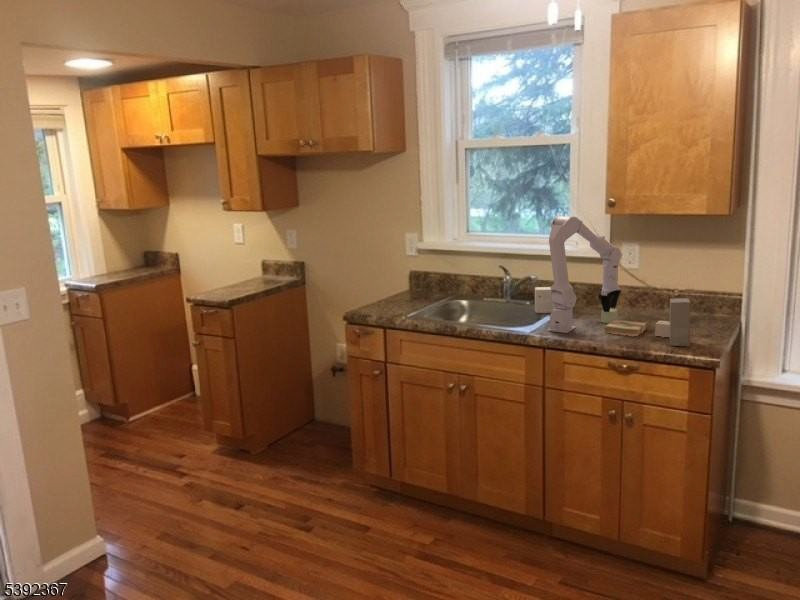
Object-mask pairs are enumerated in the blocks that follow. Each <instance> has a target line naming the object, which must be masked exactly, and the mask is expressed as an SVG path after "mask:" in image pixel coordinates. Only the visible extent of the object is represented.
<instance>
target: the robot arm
mask: <svg viewBox="0 0 800 600" xmlns="http://www.w3.org/2000/svg"><path fill="white" fill-rule="evenodd" d="M576 233H577V234H578V235H579V236H581V237H582V238H583V239H585V240H586V241H588V242H589V246H590V248H591V249H592V250H594V251H595V252H596V253H597V254H599V257H600V259H601V260H602V288H601V293H599V294H598V298H599V300H600V303H601V306H602V310H603V311H604V312H609V311H610V309H616V307H617V303H618V299H619V296H620V294H621V293H622V290H621V288H622V287H620V286H619V283H618V282H619V265H620V261H621V259H622V256H623V253H622V252H621V250H620V248H619V247H616V246H614V245H613V243H612V242H610V241H608V240H607V239H605V238H606V236H604V235H600V234H599V235H596V234H595V233H594V232H593V231H592V230H590V229H589V227H587V225H585V223H583V220H581V219H579V218H578V217H577V216H568V215H567V216H566V215H562V214H558V215H556V216H555V217H554V218H553V219H552V221H551V222H550V233H549V237H548V244H549V252H550V259H551V268H552V276H553V277H552V278H553V284H552V285H551V286H550V287H551V293H550V301H551V302H552V303H553V312H552V313H549V314H550V315H549V328H548V329H547V331H548V332H554V333H555V332H556V333H564V334H567V333H570V332H571V331H573V330H574V329H576V327H577V326H575V325H573V309H574V306H575V305H576V302H577V299H578V298H577V295H576V293H575V292H574V287H573V286H572V284H571V283H570V282H569V273H568V271H569V270H568V264H567V255H566V247H565V243H566V242H567V240H568V239H570V238H571V237H572V236H574V235H575V234H576Z"/></svg>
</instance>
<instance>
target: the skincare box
mask: <svg viewBox="0 0 800 600" xmlns="http://www.w3.org/2000/svg"><path fill="white" fill-rule="evenodd" d="M690 312H691V300H690V298H686V297H683V298H670V299H669V314H668V315H669V322H670V338H669V343H670V346H673V347H688V348H690V346H691V317H690V316H691V313H690Z"/></svg>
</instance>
